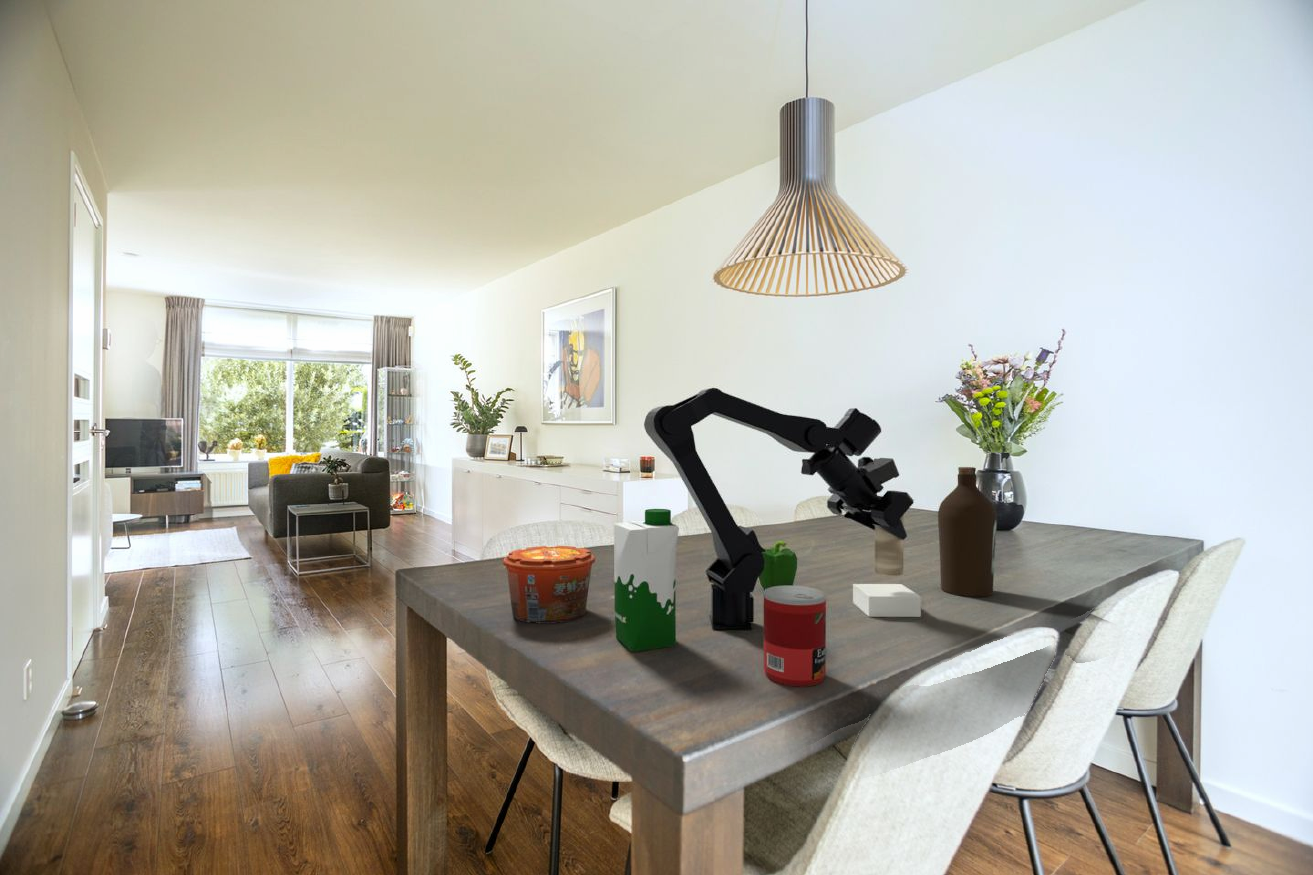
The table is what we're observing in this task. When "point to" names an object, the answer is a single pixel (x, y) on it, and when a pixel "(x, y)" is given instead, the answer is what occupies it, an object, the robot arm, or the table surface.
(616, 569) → the milk carton
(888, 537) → the salt mill
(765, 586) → the bell pepper
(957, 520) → the olive oil
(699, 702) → the table surface
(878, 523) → the robot arm
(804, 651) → the canned food
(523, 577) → the food container
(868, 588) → the stoneware block
